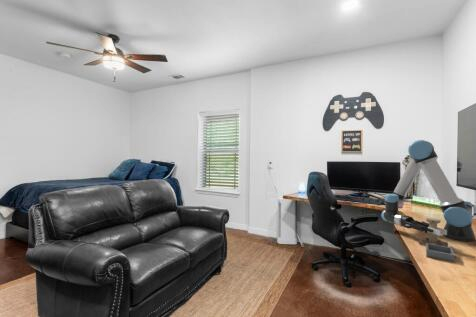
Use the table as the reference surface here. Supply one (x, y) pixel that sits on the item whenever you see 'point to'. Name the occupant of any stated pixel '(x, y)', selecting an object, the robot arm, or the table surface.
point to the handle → (433, 224)
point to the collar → (426, 240)
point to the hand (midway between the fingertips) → (443, 232)
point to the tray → (440, 252)
